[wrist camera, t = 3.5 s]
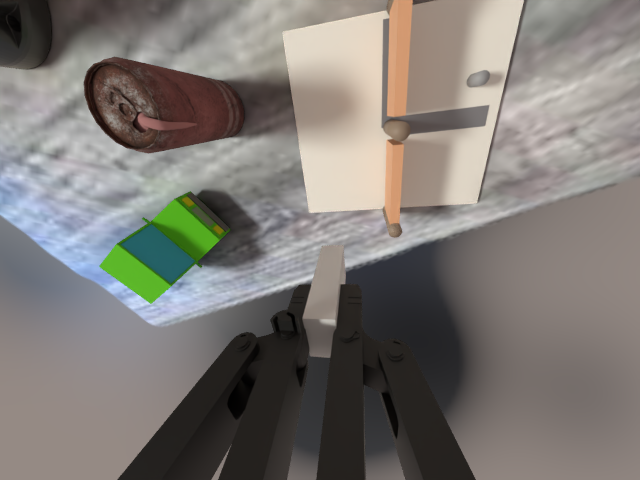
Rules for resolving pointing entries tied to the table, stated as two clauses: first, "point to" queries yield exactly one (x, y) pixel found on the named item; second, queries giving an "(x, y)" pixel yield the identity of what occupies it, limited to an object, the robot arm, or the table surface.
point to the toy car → (165, 247)
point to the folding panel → (393, 186)
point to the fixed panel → (398, 67)
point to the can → (159, 105)
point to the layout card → (421, 107)
